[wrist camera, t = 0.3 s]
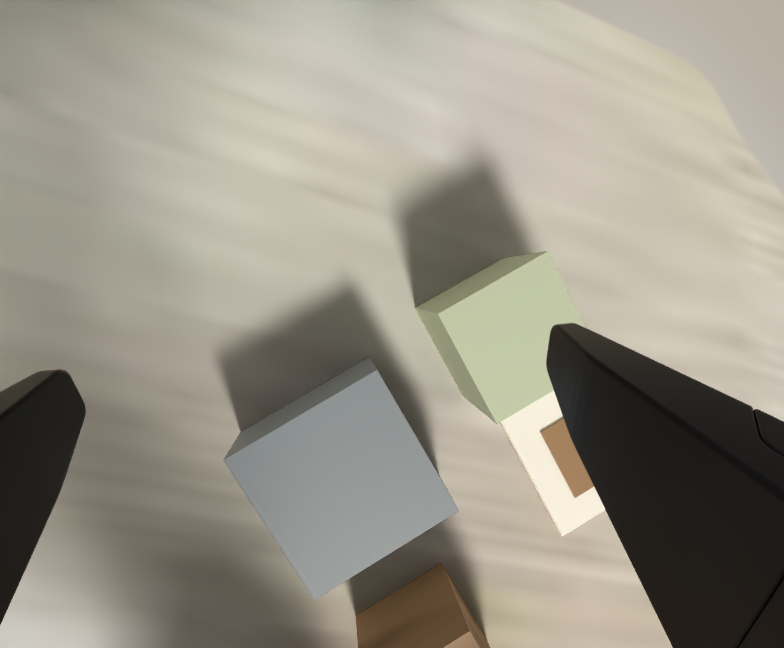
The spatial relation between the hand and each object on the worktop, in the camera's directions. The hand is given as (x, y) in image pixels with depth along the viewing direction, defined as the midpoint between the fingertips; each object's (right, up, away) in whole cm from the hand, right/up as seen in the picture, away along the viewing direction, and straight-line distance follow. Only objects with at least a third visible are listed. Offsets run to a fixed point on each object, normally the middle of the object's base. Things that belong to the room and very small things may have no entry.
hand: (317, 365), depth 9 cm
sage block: (+6, +1, +15) cm, 16 cm away
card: (+11, -5, +16) cm, 20 cm away
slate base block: (-1, -6, +15) cm, 16 cm away
